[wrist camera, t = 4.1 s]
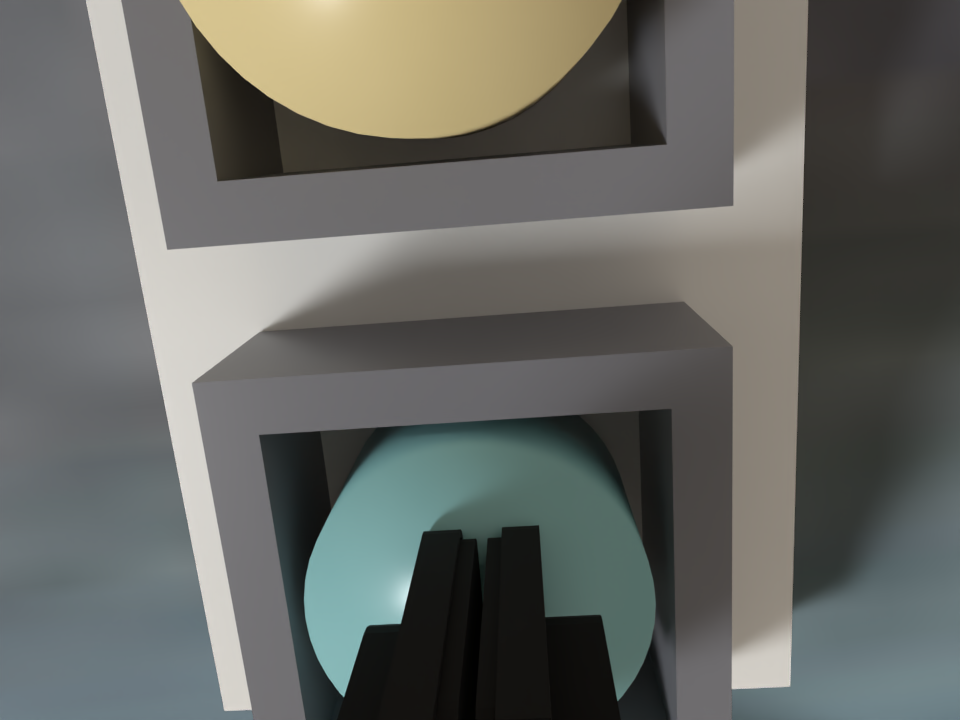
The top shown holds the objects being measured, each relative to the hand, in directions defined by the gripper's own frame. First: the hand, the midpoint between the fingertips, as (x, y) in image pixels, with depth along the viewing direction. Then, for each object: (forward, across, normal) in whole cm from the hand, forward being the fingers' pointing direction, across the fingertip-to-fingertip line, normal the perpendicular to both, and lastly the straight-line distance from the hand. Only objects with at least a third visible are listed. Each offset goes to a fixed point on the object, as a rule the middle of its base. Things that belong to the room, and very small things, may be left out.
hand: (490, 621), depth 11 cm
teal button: (+3, 0, 0) cm, 3 cm away
